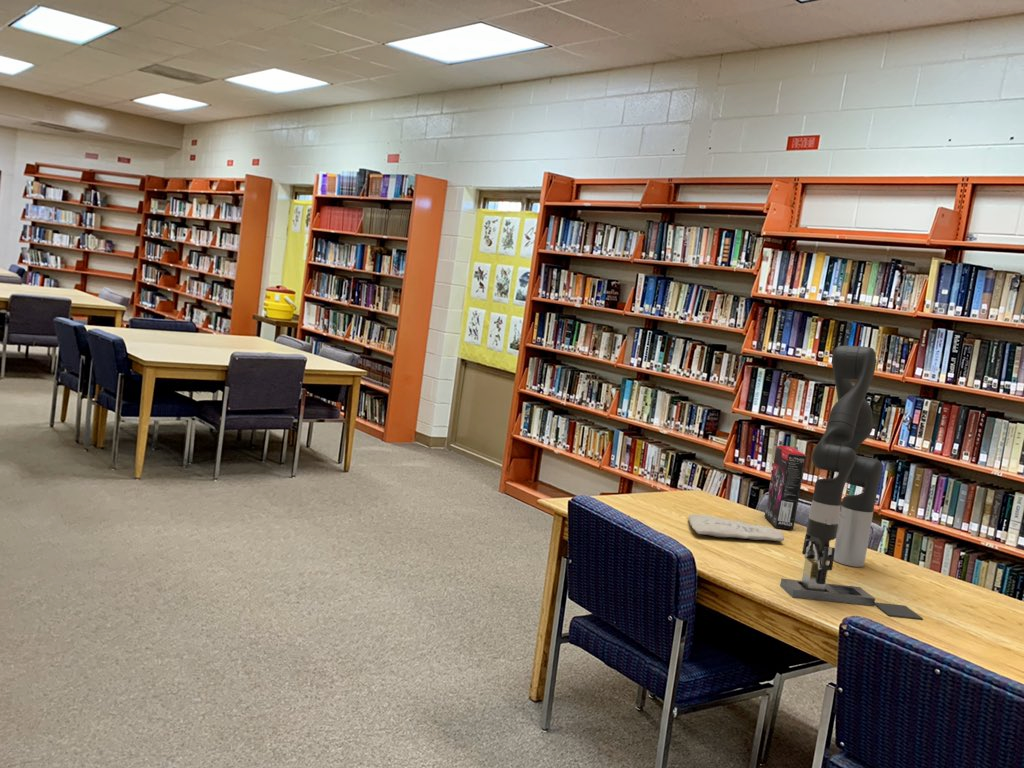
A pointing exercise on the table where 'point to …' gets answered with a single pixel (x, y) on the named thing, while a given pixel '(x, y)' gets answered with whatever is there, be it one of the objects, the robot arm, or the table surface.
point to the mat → (897, 611)
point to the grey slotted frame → (829, 593)
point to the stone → (732, 528)
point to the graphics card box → (785, 487)
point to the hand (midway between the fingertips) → (813, 578)
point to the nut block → (811, 576)
